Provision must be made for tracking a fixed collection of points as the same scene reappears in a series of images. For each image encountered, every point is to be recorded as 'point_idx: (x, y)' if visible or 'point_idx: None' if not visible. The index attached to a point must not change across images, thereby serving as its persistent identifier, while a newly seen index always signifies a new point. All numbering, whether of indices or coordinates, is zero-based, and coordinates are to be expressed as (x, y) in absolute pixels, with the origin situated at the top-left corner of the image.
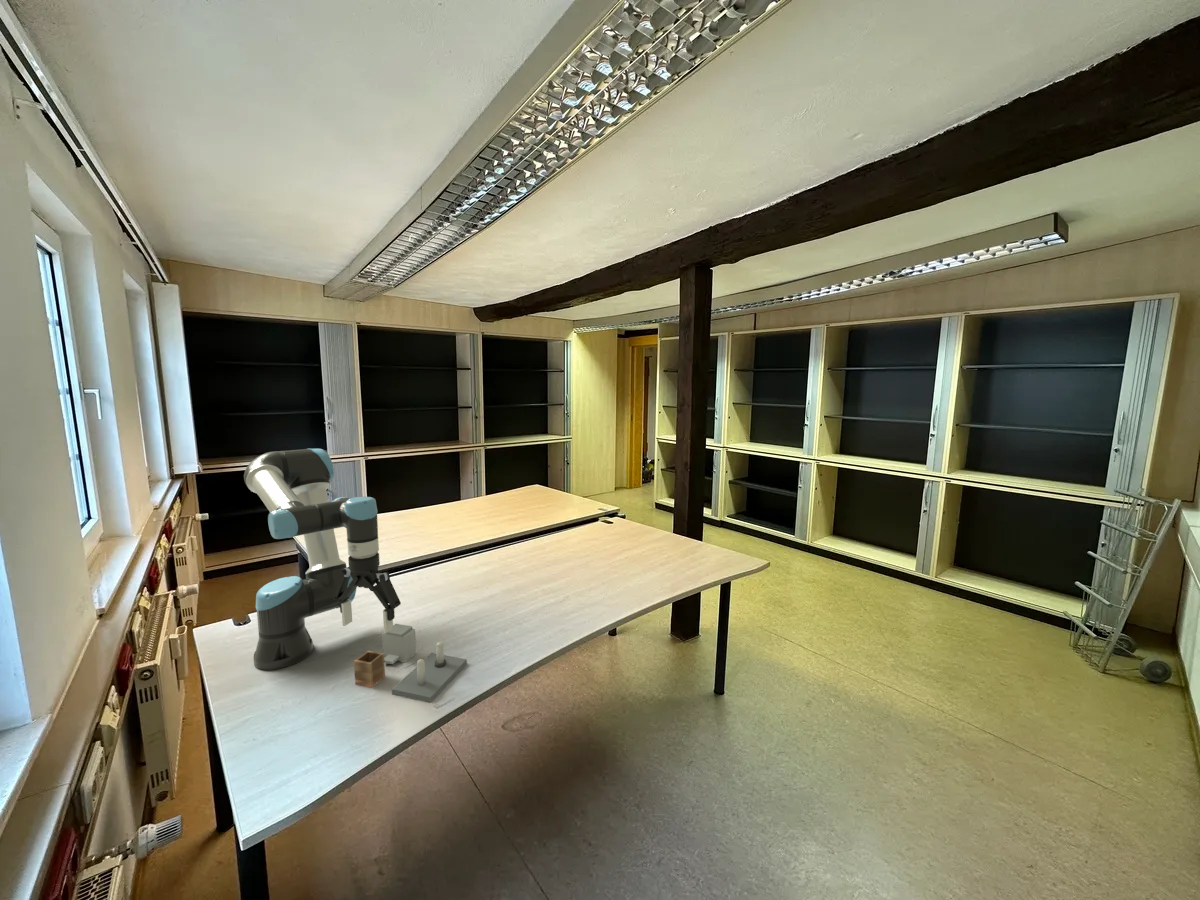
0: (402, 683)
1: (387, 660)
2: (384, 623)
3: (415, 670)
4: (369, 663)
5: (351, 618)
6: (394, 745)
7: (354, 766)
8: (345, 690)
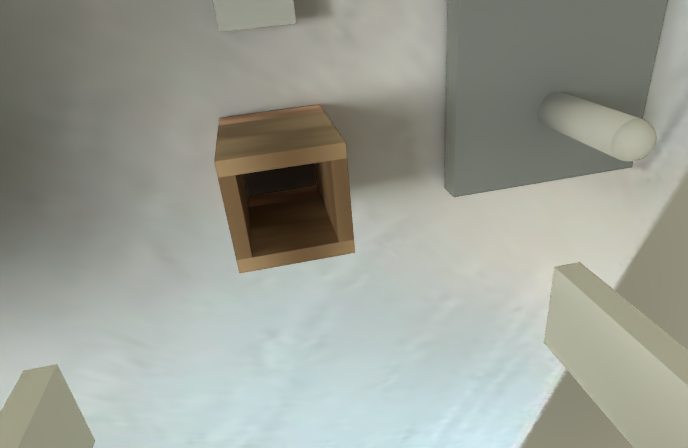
0: (474, 149)
1: (255, 23)
2: (614, 411)
3: (474, 37)
4: (345, 250)
5: (45, 403)
6: None
7: (527, 405)
8: (233, 248)
